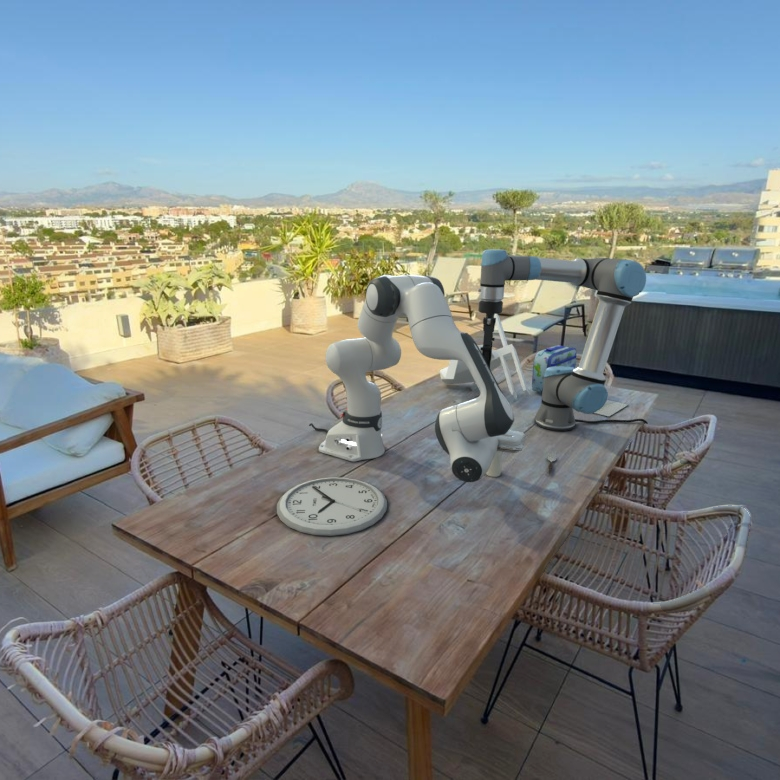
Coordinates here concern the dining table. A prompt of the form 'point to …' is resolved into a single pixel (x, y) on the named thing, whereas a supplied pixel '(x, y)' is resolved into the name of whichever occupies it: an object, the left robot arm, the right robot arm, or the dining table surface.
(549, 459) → the fork
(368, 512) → the wall clock
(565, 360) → the lunch box
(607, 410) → the invitation card
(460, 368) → the white plastic object
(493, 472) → the bottle
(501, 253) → the right robot arm
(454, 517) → the dining table surface
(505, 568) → the dining table surface
